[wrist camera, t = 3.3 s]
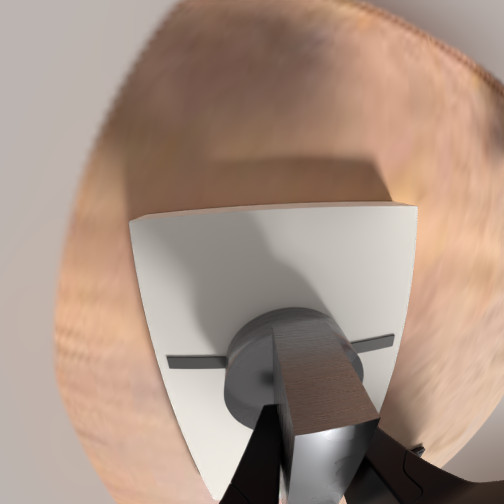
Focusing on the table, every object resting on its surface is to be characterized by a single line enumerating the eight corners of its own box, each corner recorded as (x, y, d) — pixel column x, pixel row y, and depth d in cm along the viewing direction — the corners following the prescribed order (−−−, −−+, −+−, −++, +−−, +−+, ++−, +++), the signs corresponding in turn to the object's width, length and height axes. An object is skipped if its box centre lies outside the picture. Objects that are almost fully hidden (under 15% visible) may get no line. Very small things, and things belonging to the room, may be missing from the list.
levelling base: (393, 201, 11) (442, 211, 8) (341, 469, 17) (350, 499, 13) (146, 214, 11) (109, 229, 7) (214, 482, 17) (212, 514, 13)
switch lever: (353, 288, 10) (457, 403, 3) (337, 402, 11) (379, 509, 5) (217, 299, 10) (192, 457, 3) (233, 413, 11) (233, 534, 5)
